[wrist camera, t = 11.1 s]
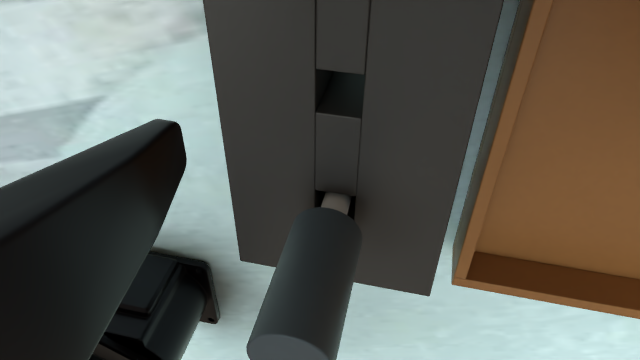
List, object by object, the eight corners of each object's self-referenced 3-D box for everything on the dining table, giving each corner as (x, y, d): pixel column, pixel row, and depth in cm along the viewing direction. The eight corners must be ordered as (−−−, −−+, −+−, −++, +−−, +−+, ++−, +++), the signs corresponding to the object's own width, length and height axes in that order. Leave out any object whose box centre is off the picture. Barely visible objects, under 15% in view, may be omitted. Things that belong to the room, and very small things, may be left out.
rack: (561, -303, 13) (583, -317, 11) (433, 244, 27) (429, 296, 25) (211, -301, 15) (156, -312, 12) (260, 215, 29) (240, 261, 26)
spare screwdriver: (376, 188, 25) (332, 393, 17) (319, 179, 26) (249, 374, 18) (381, 140, 24) (334, 346, 15) (319, 131, 24) (242, 326, 16)
